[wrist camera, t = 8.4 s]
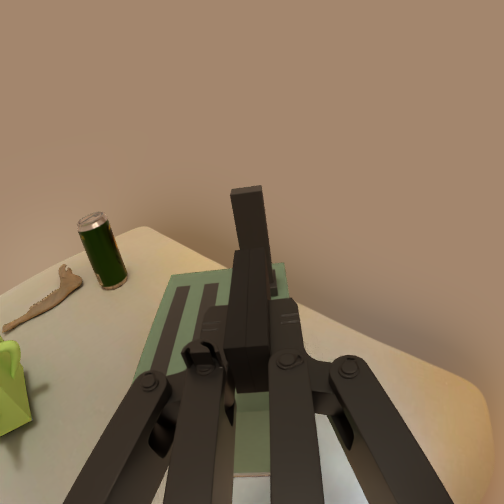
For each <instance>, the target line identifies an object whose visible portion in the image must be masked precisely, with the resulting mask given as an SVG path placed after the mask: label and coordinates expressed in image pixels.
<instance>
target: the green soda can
mask: <svg viewBox="0 0 504 504" xmlns="http://www.w3.org/2000/svg"><path fill="white" fill-rule="evenodd" d="M77 225H78V233H79V235H80V238H81V240H82V243H83V246H84V248H85V251H86V253H87V256H88V258H89V261H90V263H91V265H92V268H93V270H94V272H95V275H96V277H97V279H98V282H99V284H100V285H101V286H102V287H103V288H104V289H107V290H111V289H115V288H118V287H120V286H121V285H123V284H124V283H125V282H126V280H127V271H126V268H125V266H124V263H123V260H122V258H121V255H120V252H119V249H118V247H117V244H116V241H115V238H114V235H113V233H112V230H111V227H110V224H109V221H108V218H107V217H106V215H105V213H104V212H95V213H92V214H90V215H87V216H85V217H83V218H82V219H80V220H79V221H78V222H77Z"/></svg>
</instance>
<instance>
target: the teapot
mask: <svg viewBox="0 0 504 504" xmlns="http://www.w3.org/2000/svg"><path fill="white" fill-rule="evenodd" d="M20 357H21V352H20V347H19V344H18V343H17V342H16V341H13V340H9V341H4V340H3V339H2V337H1V336H0V436H2V435H4V434H6V433H8V432H10V431H12V430H14V429H16V428H18V427H20V426H22V425H24V424H26V423H27V422H29V421H31V420H32V418H31V413H30V408H29V403H28V397H27V392H26V386H25V379H24V372H23V366H22V365H21V364H20Z"/></svg>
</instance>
